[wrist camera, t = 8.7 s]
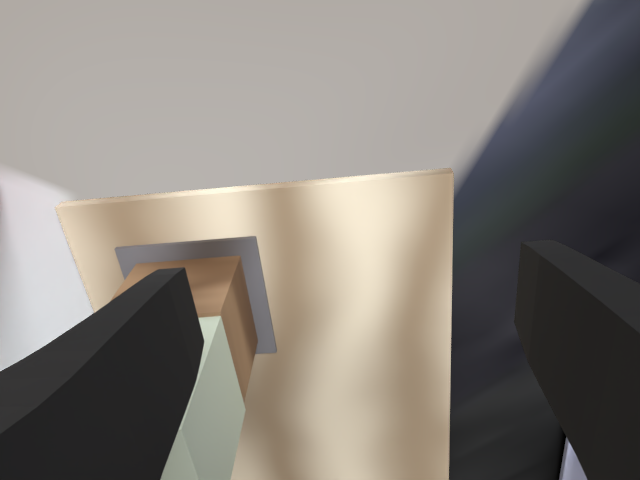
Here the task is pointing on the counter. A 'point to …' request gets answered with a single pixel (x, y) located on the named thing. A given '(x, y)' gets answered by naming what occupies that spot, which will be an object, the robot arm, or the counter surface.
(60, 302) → the counter surface
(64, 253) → the counter surface
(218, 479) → the sage block
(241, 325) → the walnut block
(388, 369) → the build board
